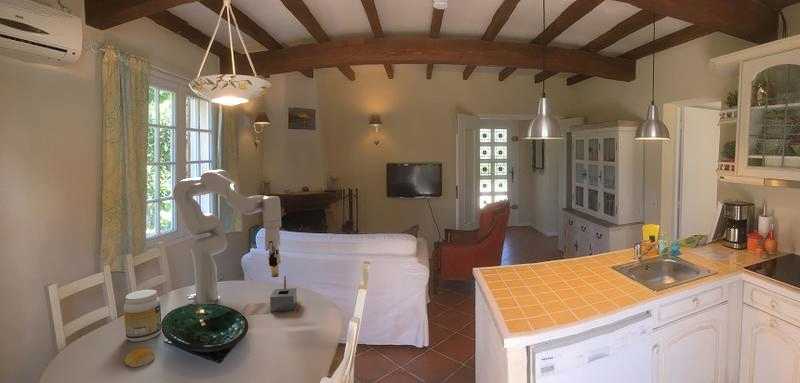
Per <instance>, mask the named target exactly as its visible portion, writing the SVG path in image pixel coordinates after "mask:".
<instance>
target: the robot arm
mask: <svg viewBox="0 0 800 383" xmlns="http://www.w3.org/2000/svg"><path fill="white" fill-rule="evenodd" d="M238 191H239V184H238V183H237V181H234V180H232V175H231V173H230V172H229V171H227V170H225V169H214V170H213V169H212V170H207V171H204V172H203V173H202V174H201V175H200V177H191V178H185V179H181V180H179V181H177V182H176V184H175V185H174V187H173V190H172V194H173V199H174V202H175V203H176V205H177V207H178V209H179V211H180V213H181V217H182V220H183V222H184V225H185V228H186V231H187V232H188V234H189V235H190V236H191V237H198V236H203V235H206V236H204V237H201V238H198V239H196V240H194V241H193V242H192V244H191V246H190V253H191V256H192V261H193V269H194V270H193V271H194V284H195V285H194V286H195V288H194V289H195V293H194V294H187V295H186V298H187V300H188V301H192V300H193V301H192V305H193V304H214V305H215V304H216V302H217V301H218V300H220V298H221V296H220V295H219V290H218V287H219V286H218V270H217V269H218V268H217V262H216V261H215V259H214V257H213V256H215V255H218V254H221V253H223V252H225V250H227V248H228V240H227V237H226V234H225V230H224V227H223V225H222V223H221V220H220V218H219V217H218V216H217V215H215V214H214V213H210V212H209V213H208V212H207V213H204V212H203V210H202V208H201V206H200V204H199V203H198V201H197V200H196V199H194V197H198V196H205V195H209V194H212V193H216V194H217V195H219V196H221V197H222V198H224V199H225V201H226V203H227V204H228V206H229V207H231V208H232V209H233V210H235V211H237V212H239V213H240V214H244V215H252V214H256V213H257V214H258V213H261V212H262V219H263V220H262V221H263V228H264V229H265V231H264V250H265V251H266V252H268V255H269V264H268V265H269V267H271V266H277V257H276V254H280V249H279V248H280V246H281V232H280V228H282V214H281V212H282V211H281V209H282V208H281V198H280V197H279V196H277V195H262V194H259V195H252V196H251V195H250V196H245V195H243V194H241V193H239V192H238Z"/></svg>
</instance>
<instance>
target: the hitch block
mask: <svg viewBox="0 0 800 383" xmlns="http://www.w3.org/2000/svg"><path fill="white" fill-rule="evenodd" d="M297 300H298V298H297V288H296V287H295V288H294V287H293V288H290V287H289V288H286V289H284V288H275V289H273V291H272V292H271V294H270V297H269V303H270V309H271V312H288V311H294V309H295V306H296V303H297Z"/></svg>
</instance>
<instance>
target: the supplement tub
mask: <svg viewBox="0 0 800 383" xmlns="http://www.w3.org/2000/svg"><path fill="white" fill-rule="evenodd" d="M122 310H123V316H124V317H123V319H124V332H125V338H126V340H128V341H129V340H130V341H129V342H143V340H144V341H147V340H151V339H153V338H155V337H157V336H158V335H160V333H162V331H161V323H162V310H161V300H160V298H159V297H158V292H157V290H156V289H142V290H137V291H133V292H130V293H128V294H126V295H125V303H124V305H123V309H122ZM162 324H163V323H162Z"/></svg>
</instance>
